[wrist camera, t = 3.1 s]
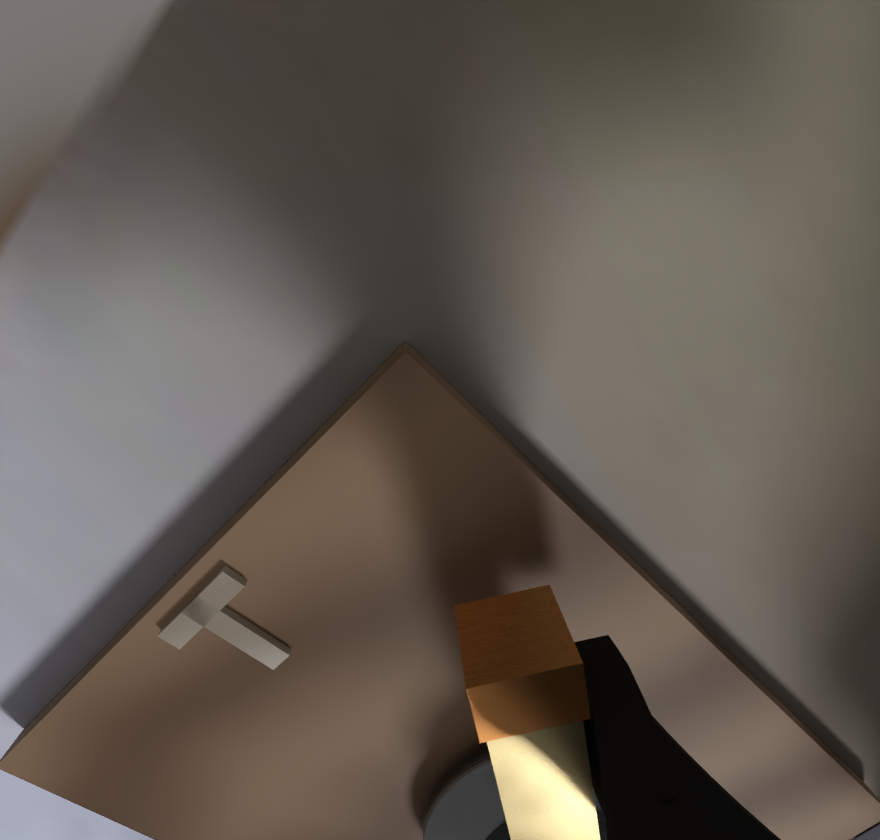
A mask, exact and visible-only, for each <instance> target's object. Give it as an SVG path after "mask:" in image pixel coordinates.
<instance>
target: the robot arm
mask: <svg viewBox="0 0 880 840" xmlns="http://www.w3.org/2000/svg"><path fill="white" fill-rule="evenodd" d="M574 643H575V645H576V648H577V650H578V652H579V655H580V657H581V659H582V662H583V666H584V673H585V681H586V688H587V695H588V703H589V710H590V717H591V719H588V720H583V722H584V729H585V736H586V743H587V750H588V757H589V764H590V771H591V778H592V785H593V789H594V792H595V794H596V797H597V799H598V802H599V804H600V806H601V809H602V811H603V814H604V816H605V819H606V830H607V840H781V839H780V838H779V837H777V836H776V835H775V834H774V833H773V832H772V831H770V830H769V829H768V828H767V827H766V826H765V825H764V824H763V823H761V822H760V821H759V820H758V819H757V818H756V817H755V816H754V815H752V814H751V813H750V812H749V811H748V810H747V809H746V808H745V807H743V806H742V805H741V804H740V803H739V802H738V801H737V800H736V799H735V798H734V797H733V796H731V795H730V794H729V793H728V792H727V791H726V790H725V789H724V788H723V787H722V786H721V785H720V784H719V783H718V782H717V781H716V780H715V779H714V778H712V777H711V776H710V775H709V774H708V773H707V772H706V771H705V770H704V769H703V768H702V767H701V766H700V765H699V764H698V763H697V762H696V761H695V760H694V759H693V758H692V757H691V756H690V755H689V754H688V753H687V752H686V751H685V750H684V749H683V748H682V747H681V746H680V745H679V744H678V743H677V741H676V740H675V739H674V738H673V737H672V736H671V735H670V734H669V733H668V732H667V731H666V730H665V729H664V728H663V727H662V725H661V724H660V723H659V722H658V721H657V720H656V719H655V718H654V717H653V716H652V714H651V712H650V710H649V708H648V706H647V704H646V701H645V699H644V697H643V695H642V693H641V691H640V688H639V686H638V684H637V682H636V680H635V678H634V675H633V673H632V671H631V669H630V667H629V665H628V663H627V662H626V660H625V659H624V657H623V656H622V654H621V653H620V651H619V649H618V648H617V647H616V645H615V644H614V642H613V641H612V639H611V638H610V637H609V635H605V636H600V637H596V638H591V639H586V640H582V641H577V642H574ZM853 840H880V824H878V825H876V826H875V827H873V828H871V829H870V830H868V831H866V832H865V833H863V834H861V835H859V836H858V837H856V838H854V839H853Z"/></svg>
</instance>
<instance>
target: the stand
mask: <svg viewBox="0 0 880 840" xmlns="http://www.w3.org/2000/svg"><path fill="white" fill-rule="evenodd" d="M545 585H550V586H551V589H552V591H553V593H554V596H555V598H556V601H557V603H558V605H559V608H560V610H561V612H562V615H563V617H564V619H565V622H566V624H567V626H568V629H569V631H570V633H571V636H572V638H573V640H574V642H577V641H582V640H586V639H591V638H596V637H600V636H605V635H609V637H610V638H611V639H612V641H613V642H614V644H615V645H616V647H617V648H618V649H619V651H620V653H621V654H622V656H623V657H624V659H625V660H626V662H627V663H628V665H629V667H630V669H631V671H632V673H633V675H634V678H635V680H636V682H637V684H638V686H639V688H640V691H641V693H642V695H643V697H644V699H645V701H646V704H647V706H648V708H649V710H650V712H651V714H652V716H653V717H654V718H655V719H656V720H657V721H658V722H659V723H660V724H661V725H662V727H663V728H664V729H665V730H666V731H667V732H668V733H669V734H670V735H671V736H672V737H673V738H674V739H675V740H676V741H677V743H678V744H679V745H680V746H681V747H682V748H683V749H684V750H685V751H686V752H687V753H688V754H689V755H690V756H691V757H692V758H693V759H694V760H695V761H696V762H697V763H698V764H699V765H700V766H701V767H702V768H703V769H704V770H705V771H706V772H707V773H708V774H709V775H710V776H711V777H712V778H714V779H715V780H716V781H717V782H718V783H719V784H720V785H721V786H722V787H723V788H724V789H725V790H726V791H727V792H728V793H729V794H730V795H731V796H733V797H734V798H735V799H736V800H737V801H738V802H739V803H740V804H741V805H742V806H743V807H745V808H746V809H747V810H748V811H749V812H750V813H751V814H752V815H754V816H755V817H756V818H757V819H758V820H759V821H760V822H761V823H763V824H764V825H765V826H766V827H767V828H768V829H769V830H770V831H772V832H773V833H774V834H775V835H776V836H777V837H779V838H780V839H781V840H849V839H851V838H853V837H854V836H856V835H858V834H860V833H861V832H863V831H865V830H866V829H868V828H870V827H871V826H873V825H875V824H877V823H878V822H880V800H879V799H878V798H877V797H876V796H875V794H874V793H873V792H872V791H871V790H870V789H869V787H868V786H867V785H866V784H865V783H864V782H863V781H862V780H861V779H860V778H859V777H858V776H857V775H856V774H855V773H854V772H853V771H852V770H851V769H850V768H849V767H848V766H847V765H846V764H844V763H843V762H842V761H841V760H840V759H839V758H838V757H837V756H836V755H835V754H834V753H833V752H832V751H831V750H830V749H829V748H828V747H827V746H826V745H825V744H824V743H823V742H822V741H821V740H820V739H818V738H817V737H816V736H815V735H814V734H813V733H812V732H811V731H810V730H809V729H808V728H807V727H806V726H805V725H804V724H803V723H802V722H801V721H800V720H799V719H798V718H797V717H796V716H795V715H794V714H792V713H791V712H790V711H789V710H788V709H787V708H786V707H785V706H784V705H783V704H782V703H781V702H780V701H779V700H778V699H777V698H776V697H775V696H774V695H773V694H772V693H771V692H770V691H769V690H767V689H766V688H765V687H764V686H763V685H762V684H761V683H760V682H759V681H758V680H757V679H756V678H755V677H754V676H753V675H752V674H751V673H750V672H749V671H748V670H747V669H746V668H745V667H744V666H743V665H741V664H740V663H739V662H738V661H737V660H736V659H735V658H734V657H733V656H732V655H731V654H730V653H729V652H728V651H727V650H726V649H725V648H724V647H723V646H722V645H721V644H720V643H719V642H718V641H717V640H715V639H714V638H713V637H712V636H711V635H710V634H709V633H708V632H707V631H706V630H705V629H704V628H703V627H702V626H701V625H700V624H699V623H698V622H697V621H696V620H695V619H694V618H693V617H692V616H691V615H689V614H688V613H687V612H686V611H685V610H684V609H683V608H682V607H681V606H680V605H679V604H678V603H677V602H676V601H675V600H674V599H673V598H672V597H671V596H670V595H669V594H668V593H667V592H666V591H665V590H663V589H662V588H661V587H660V586H659V585H658V584H657V583H656V582H655V581H654V580H653V579H652V578H651V577H650V576H649V575H648V574H647V573H646V572H645V571H644V570H643V569H642V568H641V567H640V566H639V565H637V564H636V563H635V562H634V561H633V560H632V559H631V558H630V557H629V556H628V555H627V554H626V553H625V552H624V551H623V550H622V549H621V548H620V547H619V546H618V545H617V544H616V543H615V542H614V541H613V540H611V539H610V538H609V537H608V536H607V535H606V534H605V533H604V532H603V531H602V530H601V529H600V528H599V527H598V526H597V525H596V524H595V523H594V522H593V521H592V520H591V519H590V518H589V517H588V516H586V515H585V514H584V513H583V512H582V511H581V510H580V509H579V508H578V507H577V506H576V505H575V504H574V503H573V502H572V501H571V500H570V499H569V498H568V497H567V496H566V495H565V494H564V493H563V492H562V491H560V490H559V489H558V488H557V487H556V486H555V485H554V484H553V483H552V482H551V481H550V480H549V479H548V478H547V477H546V476H545V475H544V474H543V473H542V472H541V471H540V470H539V469H538V468H537V467H536V466H534V465H533V464H532V463H531V462H530V461H529V460H528V459H527V458H526V457H525V456H524V455H523V454H522V453H521V452H520V451H519V450H518V449H517V448H516V447H515V446H514V445H513V444H512V443H511V442H510V441H508V440H507V439H506V438H505V437H504V436H503V435H502V434H501V433H500V432H499V431H498V430H497V429H496V428H495V427H494V426H493V425H492V424H491V423H490V422H489V421H488V420H487V419H486V418H485V417H484V416H482V415H481V414H480V413H479V412H478V411H477V410H476V409H475V408H474V407H473V406H472V405H471V404H470V403H469V402H468V401H467V400H466V399H465V398H464V397H463V396H462V395H461V394H460V393H459V392H458V391H456V390H455V389H454V388H453V387H452V386H451V385H450V384H449V383H448V382H447V381H446V380H445V379H444V378H443V377H442V376H441V375H440V374H439V373H438V372H437V371H436V370H435V369H434V368H433V367H431V366H430V365H429V364H428V363H427V362H426V361H425V360H424V359H423V358H422V357H421V356H420V355H419V354H418V353H417V352H416V351H415V350H414V349H413V348H412V347H411V346H410V345H409V344H408V343H407V342H404V343H403V344H402V345H401V346H400V347H399V348H398V349H397V350H396V351H395V352H394V353H393V354H392V355H391V356H390V357H389V358H388V359H387V360H386V361H385V362H384V363H383V364H382V365H381V366H380V367H379V369H378V370H377V371H376V372H375V373H374V374H373V375H372V376H371V377H370V378H369V379H368V380H367V381H366V382H365V383H364V384H363V385H362V386H361V387H360V388H359V389H358V390H357V391H356V392H355V393H354V394H353V395H352V396H351V397H350V398H349V399H348V400H347V401H346V402H345V403H344V404H343V405H342V406H341V407H340V408H339V409H338V410H337V411H336V412H335V413H334V414H333V415H332V416H331V417H330V418H329V419H328V420H327V421H326V422H325V423H324V424H323V425H322V426H321V428H320V429H319V430H318V431H317V432H316V433H315V434H314V435H313V436H312V437H311V438H310V439H309V440H308V441H307V442H306V443H305V444H304V445H303V446H302V447H301V448H300V449H299V450H298V451H297V452H296V453H295V454H294V455H293V456H292V457H291V458H290V459H289V460H288V461H287V462H286V463H285V464H284V465H283V466H282V467H281V468H280V469H279V470H278V471H277V472H276V473H275V474H274V475H273V476H272V477H271V478H270V479H269V480H268V481H267V482H266V483H265V484H264V485H263V486H262V488H261V489H260V490H259V491H258V492H257V493H256V494H255V495H254V496H253V497H252V498H251V499H250V500H249V501H248V502H247V503H246V504H245V505H244V506H243V507H242V508H241V509H240V510H239V511H238V512H237V513H236V514H235V515H234V516H233V517H232V518H231V519H230V520H229V521H228V522H227V523H226V524H225V525H224V526H223V527H222V528H221V529H220V530H219V531H218V532H217V533H216V534H215V535H214V536H213V537H212V538H211V539H210V540H209V541H208V542H207V543H206V544H205V545H204V547H203V548H202V549H201V550H200V551H199V552H198V553H197V554H196V555H195V556H194V557H193V558H192V559H191V560H190V561H189V562H188V563H187V564H186V565H185V566H184V567H183V568H182V569H181V570H180V571H179V572H178V573H177V574H176V575H175V576H174V577H173V578H172V579H171V580H170V581H169V582H168V583H167V584H166V585H165V586H164V587H163V588H162V589H161V590H160V591H159V592H158V593H157V594H156V595H155V596H154V597H153V598H152V599H151V600H150V601H149V602H148V603H147V604H146V605H145V607H144V608H143V609H142V610H141V611H140V612H139V613H138V614H137V615H136V616H135V617H134V618H133V619H132V620H131V621H130V622H129V623H128V624H127V625H126V626H125V627H124V628H123V629H122V630H121V631H120V632H119V633H118V634H117V635H116V636H115V637H114V638H113V639H112V640H111V641H110V642H109V643H108V644H107V645H106V646H105V647H104V648H103V649H102V650H101V651H100V652H99V653H98V654H97V655H96V656H95V657H94V658H93V659H92V660H91V661H90V662H89V663H88V664H87V665H86V667H85V668H84V669H83V670H82V671H81V672H80V673H79V674H78V675H77V676H76V677H75V678H74V679H73V680H72V681H71V682H70V683H69V684H68V685H67V686H66V687H65V688H64V689H63V690H62V691H61V692H60V693H59V694H58V695H57V696H56V697H55V698H54V699H53V700H52V701H51V702H50V703H49V704H48V705H47V706H46V707H45V708H44V709H43V710H42V711H41V712H40V713H39V714H38V715H37V716H36V717H35V718H34V719H33V720H32V721H31V722H30V723H29V724H28V726H27V727H26V728H25V729H24V730H23V731H22V732H21V733H20V735H19V736H18V737H17V739H16V740H15V741H14V743H13V744H12V745H11V747H10V748H9V749H8V751H7V752H6V753H5V755H4V756H3V757H2V759H1V760H0V769H1V770H3V771H5V772H7V773H9V774H12V775H14V776H16V777H18V778H20V779H23V780H25V781H27V782H29V783H31V784H34V785H36V786H38V787H40V788H42V789H45V790H47V791H49V792H51V793H53V794H56V795H58V796H60V797H62V798H64V799H67V800H69V801H71V802H73V803H75V804H78V805H80V806H82V807H84V808H86V809H89V810H91V811H93V812H95V813H97V814H100V815H102V816H104V817H106V818H108V819H111V820H113V821H115V822H117V823H119V824H122V825H124V826H126V827H128V828H130V829H132V830H135V831H137V832H139V833H141V834H143V835H146V836H148V837H150V838H152V839H154V840H423V822H422V821H423V815H424V810H425V807H426V805H427V802H428V799H429V798H430V796H431V794H432V792H433V791H434V789H435V788H436V786H437V785H438V784H439V782H440V781H441V780H442V779H443V778H444V777H445V776H446V775H447V774H448V773H449V772H450V771H451V770H452V769H453V768H454V767H455V766H457V765H458V764H459V763H460V762H462V761H463V760H464V759H466V758H467V757H469V756H471V755H472V754H474V753H476V752H477V751H479V750H481V749H483V748H485V747H487V746H488V745H487V742H483V743H480V741H479V737H478V733H477V729H476V726H475V722H474V718H473V714H472V710H471V706H470V702H469V698H468V694H467V690H466V685H465V678H464V671H463V664H462V657H461V650H460V644H459V637H458V630H457V623H456V616H455V609H454V606H455V605H459V604H464V603H468V602H473V601H477V600H482V599H486V598H491V597H496V596H500V595H505V594H509V593H514V592H518V591H523V590H527V589H532V588H536V587H541V586H545Z"/></svg>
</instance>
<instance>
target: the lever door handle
mask: <svg viewBox="0 0 880 840" xmlns="http://www.w3.org/2000/svg"><path fill="white" fill-rule="evenodd" d="M454 609H455V616H456V623H457V630H458V637H459V644H460V650H461V657H462V664H463V671H464V678H465V685H466V690H467V694H468V698H469V702H470V706H471V710H472V714H473V718H474V722H475V726H476V729H477V733H478V737H479V741H480V743H483V742H487V745H488V746H487V747H485V748H483V749H481V750H479V751H477V752H476V753H474V754H472V755H471V756H469V757H467V758H466V759H464V760H463V761H462V762H460V763H459V764H458V765H457V766H455V767H454V768H453V769H452V770H451V771H450V772H449V773H448V774H447V775H446V776H445V777H444V778H443V779H442V780H441V781H440V782H439V784H438V785H437V786H436V788H435V789H434V791H433V792H432V794H431V796H430V798H429V799H428V802H427V805H426V807H425V810H424V815H423V821H422V822H423V840H607V830H606V819H605V816H604V814H603V811H602V809H601V806H600V804H599V802H598V799H597V797H596V794H595V792H594V789H593V785H592V778H591V771H590V764H589V757H588V750H587V743H586V736H585V729H584V722H583V720H588V719H591V717H590V710H589V703H588V695H587V688H586V681H585V673H584V666H583V662H582V659H581V657H580V655H579V652H578V650H577V648H576V645H575V643H574V640H573V638H572V636H571V633H570V631H569V629H568V626H567V624H566V622H565V619H564V617H563V615H562V612H561V610H560V608H559V605H558V603H557V601H556V598H555V596H554V593H553V591H552V589H551V586H550V585H545V586H541V587H536V588H532V589H527V590H523V591H518V592H514V593H509V594H505V595H500V596H496V597H491V598H486V599H482V600H477V601H473V602H468V603H464V604H459V605H455V606H454Z"/></svg>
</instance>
